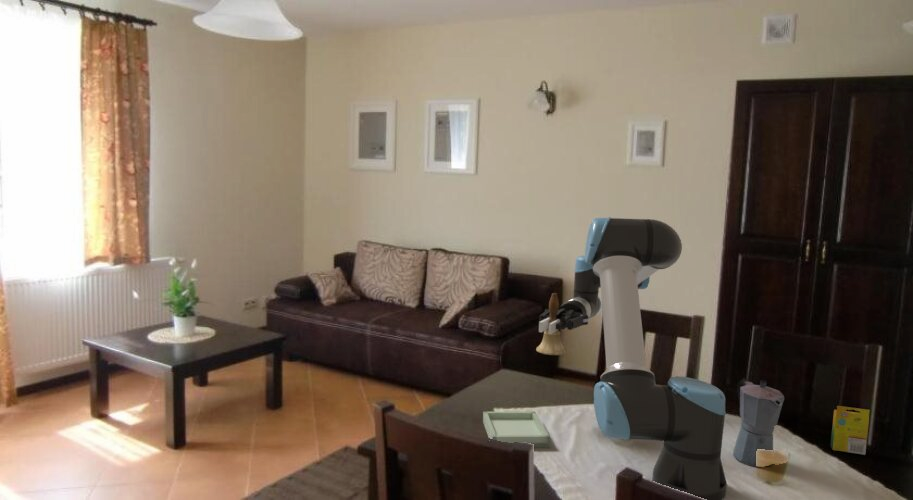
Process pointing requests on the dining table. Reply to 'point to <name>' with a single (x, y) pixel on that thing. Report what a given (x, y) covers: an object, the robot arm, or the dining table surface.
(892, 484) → the dining table surface
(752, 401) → the moka pot
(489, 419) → the tray
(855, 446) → the crayon box
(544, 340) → the hand bell
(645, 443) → the dining table surface
